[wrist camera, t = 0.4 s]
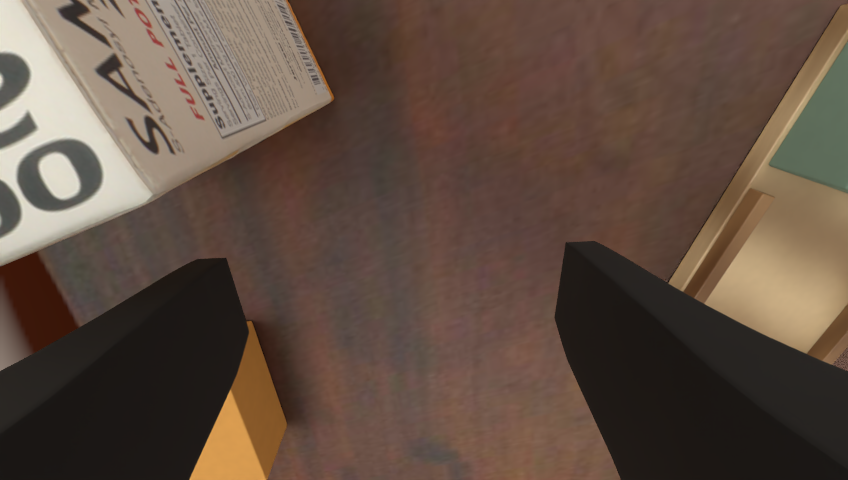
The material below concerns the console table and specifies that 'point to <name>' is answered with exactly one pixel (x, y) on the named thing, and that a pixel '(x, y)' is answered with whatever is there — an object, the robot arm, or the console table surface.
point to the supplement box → (135, 103)
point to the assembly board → (779, 235)
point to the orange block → (245, 424)
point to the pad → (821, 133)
